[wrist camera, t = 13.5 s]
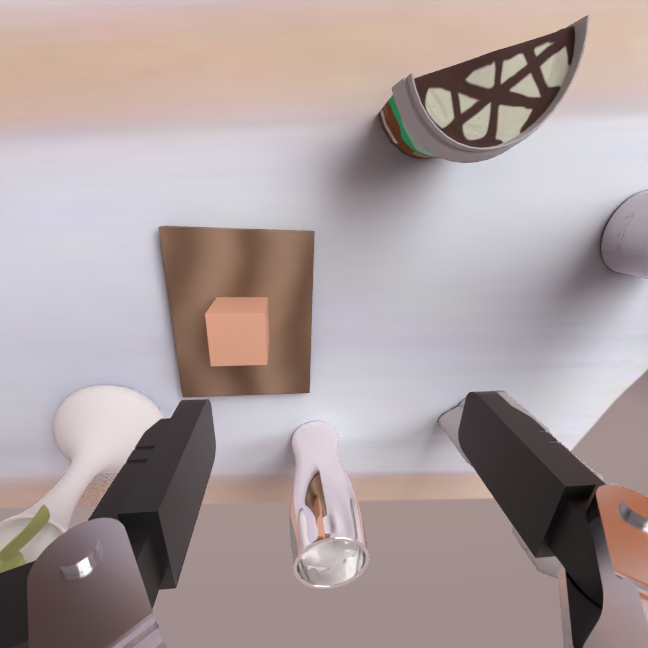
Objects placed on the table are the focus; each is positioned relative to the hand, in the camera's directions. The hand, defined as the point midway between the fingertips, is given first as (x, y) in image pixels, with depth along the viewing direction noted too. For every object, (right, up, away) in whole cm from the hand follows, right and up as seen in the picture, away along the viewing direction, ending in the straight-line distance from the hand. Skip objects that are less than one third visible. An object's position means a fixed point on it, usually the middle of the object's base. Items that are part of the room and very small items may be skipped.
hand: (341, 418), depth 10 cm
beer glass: (-2, -12, +31) cm, 33 cm away
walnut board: (-9, +4, +23) cm, 25 cm away
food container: (+10, +21, +19) cm, 30 cm away
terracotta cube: (-9, +3, +22) cm, 24 cm away
